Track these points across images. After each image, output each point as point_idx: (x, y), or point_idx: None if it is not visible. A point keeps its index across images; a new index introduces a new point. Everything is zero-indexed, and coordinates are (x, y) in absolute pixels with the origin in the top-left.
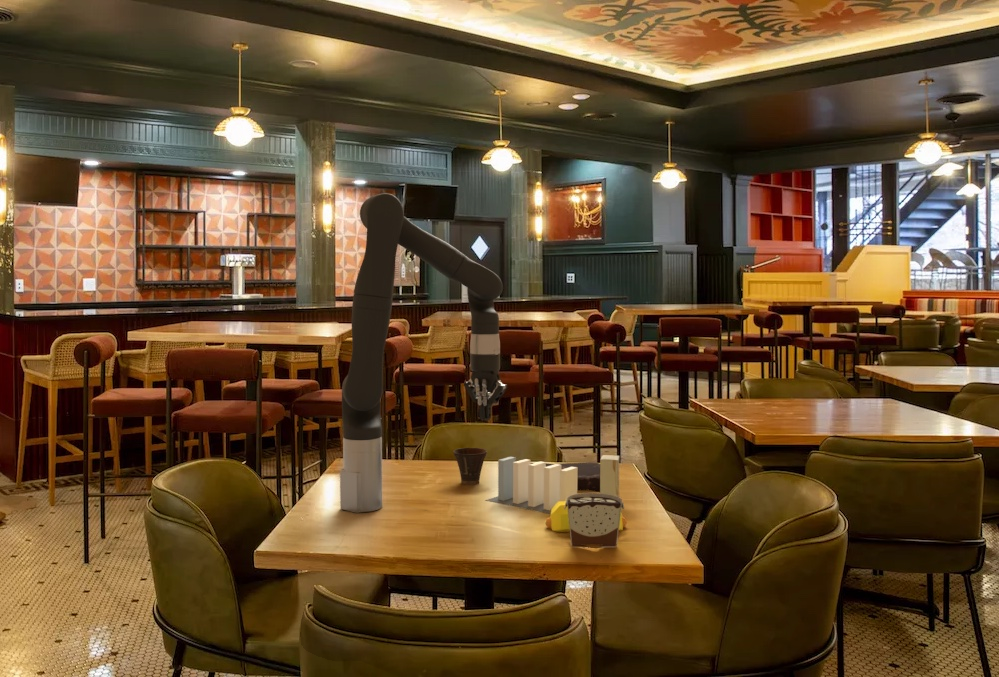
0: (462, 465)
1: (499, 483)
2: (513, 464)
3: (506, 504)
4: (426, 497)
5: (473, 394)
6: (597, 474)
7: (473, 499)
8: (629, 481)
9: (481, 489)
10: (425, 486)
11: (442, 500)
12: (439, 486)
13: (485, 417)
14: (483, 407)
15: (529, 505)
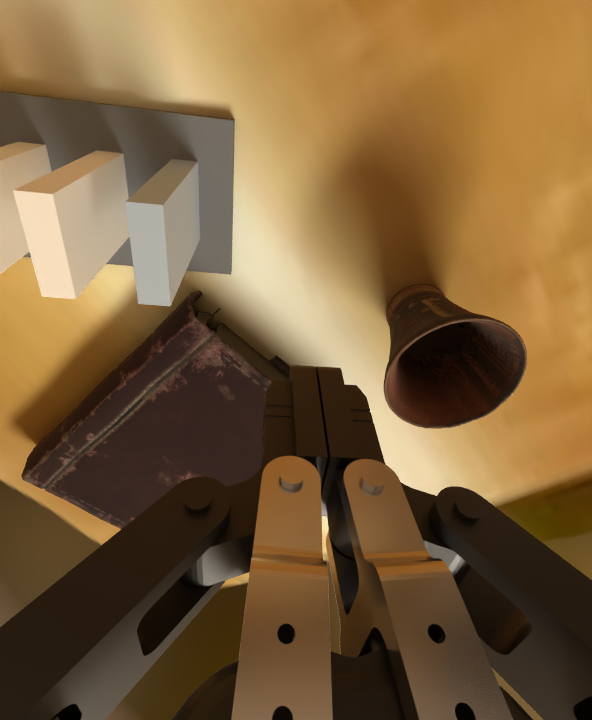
0: (451, 308)
1: (179, 174)
2: (54, 190)
3: (122, 112)
4: (495, 48)
5: (511, 582)
6: (70, 472)
7: (303, 141)
8: (85, 516)
9: (352, 281)
10: (558, 209)
11: (408, 43)
12: (507, 237)
13: (290, 383)
14: (312, 443)
15: (37, 144)
